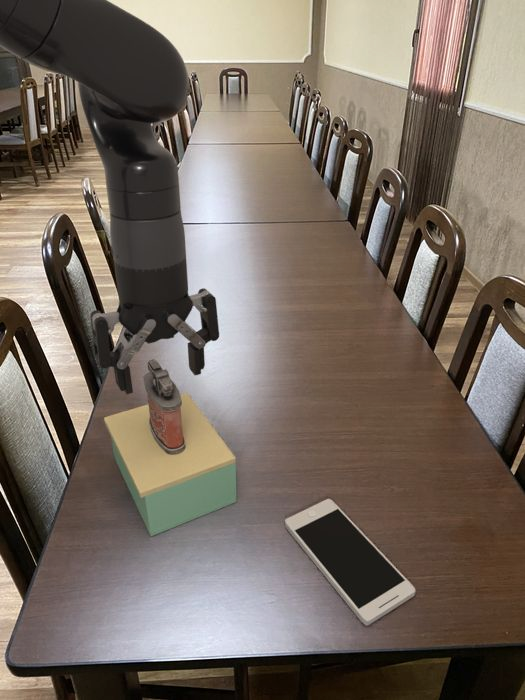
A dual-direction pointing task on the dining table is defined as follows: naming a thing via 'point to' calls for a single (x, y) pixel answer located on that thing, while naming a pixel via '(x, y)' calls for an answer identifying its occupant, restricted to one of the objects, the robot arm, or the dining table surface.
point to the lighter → (164, 409)
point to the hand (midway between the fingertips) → (162, 380)
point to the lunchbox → (182, 497)
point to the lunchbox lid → (152, 462)
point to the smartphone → (350, 561)
